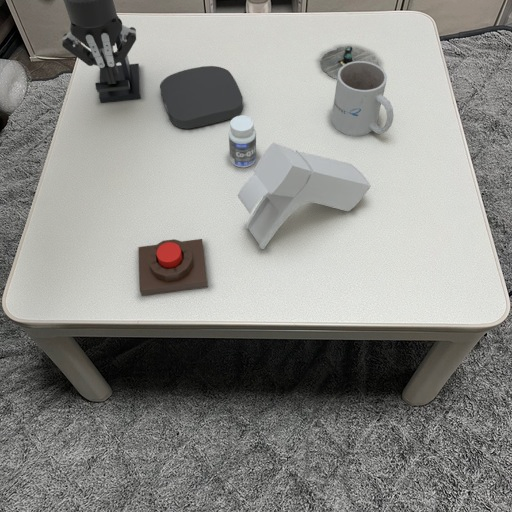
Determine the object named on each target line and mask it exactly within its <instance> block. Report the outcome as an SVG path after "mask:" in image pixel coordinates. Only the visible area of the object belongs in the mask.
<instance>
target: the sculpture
mask: <svg viewBox="0 0 512 512" xmlns="http://www.w3.org/2000/svg"><path fill="white" fill-rule="evenodd" d="M354 61H366V62H370V63H373V64H376V65H378V66H379V67H381V66H380V64H379V61H378V59H377V58H376V56H375V55H374V54H372V53H371V52H369V51H368V50H365V49H362V48H360V47H356V46H351V45H350V46H339V47H337V48H336V49H334V50H333V49H332V50H330V51H328V52H326V53H325V54H324V55H322V57H321V59H320V60H319V65H320V67H321V69H322V71H323V72H324V73H326V74H327V75H328V76H329V77H330V78H333V79H334V80H335V79H336V80H337V76H338V71H339V69H340V68H341V67H342V66H343V65H345V64H347V63H350V62H354Z"/></svg>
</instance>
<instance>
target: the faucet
mask: <svg viewBox="0 0 512 512" xmlns="http://www.w3.org/2000/svg"><path fill="white" fill-rule="evenodd" d="M253 173H254V174H253V175H252V176H250V178H248V180H247V181H246V182H245V183H244V184H243V186H242V187H241V189H240V190H239V191H238V193H237V195H236V196H237V198H238V199H239V200H240V202H241V203H242V205H243V206H244V208H245V209H246V211H247V212H248V213H249V215H251V216H250V218H249V219H248V221H247V223H246V224H245V227H246V229H247V230H248V231H249V232H250V234H251V235H252V237H253V238H254V240H255V241H256V242H257V244H258V247H259V248H260V250H265V249H266V247H267V246H268V244H269V242H270V241H271V240H272V238H273V237H274V236H275V234H276V233H277V232H278V231H279V229H280V228H281V226H282V225H283V224H284V223H285V222H286V220H287V219H288V218H290V216H291V215H292V214H293V213H294V211H295V210H296V209H298V208H300V207H301V206H303V205H305V204H308V203H315V204H318V205H321V206H326V207H329V208H334V209H336V210H341V211H345V212H350V211H351V210H352V209H354V208H355V207H356V206H357V205H358V203H359V202H361V200H362V199H363V198H364V197H365V195H366V194H367V193H368V191H369V190H370V188H371V184H370V182H369V181H368V179H367V178H366V176H365V175H364V173H362V172H361V171H360V170H359V169H358V168H357V167H356V166H355V165H354V164H352V163H351V162H346V161H342V160H337V159H334V158H329V157H325V156H321V155H317V154H311V153H309V152H308V153H307V152H303V151H300V150H296V151H295V150H294V149H292V148H290V147H287V146H285V145H281V144H279V143H276V142H273V141H272V143H271V144H270V145H269V147H268V148H267V149H266V150H265V151H264V153H263V154H262V156H260V158H259V160H258V162H257V163H256V165H255V167H254V169H253ZM254 208H255V209H254ZM253 210H254V211H253ZM251 213H252V214H251Z"/></svg>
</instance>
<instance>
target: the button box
mask: <svg viewBox="0 0 512 512" xmlns="http://www.w3.org/2000/svg"><path fill="white" fill-rule="evenodd" d="M168 242H172V243H175V244H177V245H178V246H179V247H180V249H181V253H182V261H181V263H180V264H179V265H178V266H176V267H174V268H164V267H162V266H161V265H160V263H159V261H158V258H157V250H158V248H159V247H160V246H161V245H162V244H164V243H168ZM207 275H208V274H207V267H206V257H205V250H204V242H203V238H197V239H189V240H179V239H175V238H174V239H167V240H165V239H164V240H162V241H160V242H159V243H157V244H152V245H151V244H150V245H144V246H138V279H139V280H138V281H139V284H138V285H139V293H140V295H141V296H142V297H145V296H153V295H158V294H166V293H174V292H181V291H189V290H195V289H204V288H208V287H209V285H208V284H209V283H208V276H207Z"/></svg>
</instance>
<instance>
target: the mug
mask: <svg viewBox="0 0 512 512" xmlns="http://www.w3.org/2000/svg"><path fill="white" fill-rule="evenodd" d="M379 66H380V65H379ZM379 66H378V65H376V64H373V63H370V62H366V61H354V62H350V63H347V64H345V65H343V66H342V67H341V68H340V69H339V71H338V76H337V79H336V83H335V90H334V91H335V92H334V99H333V105H332V113H331V123H332V126H333V127H334V128H335V129H336V130H337V131H338V132H340V133H341V134H344V135H347V136H352V137H360V136H361V137H362V136H365V135H368V134H370V133H372V132H374V133H376V134H379V135H381V134H384V133H386V132H388V131H389V130H390V128H391V127H392V124H393V123H394V122H393V121H394V107H393V105H392V103H391V101H390V100H389V99H388V98H387V97H386V96H384V93H385V90H386V85H387V81H388V76H387V73H386V70H384V69H383V68H382V67H381V66H380V67H379ZM382 106H383V107H384V109H385V112H386V120H385V125H384V127H381V126H379V125H378V124H377V123H378V119H379V115H380V110H381V107H382Z"/></svg>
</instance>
